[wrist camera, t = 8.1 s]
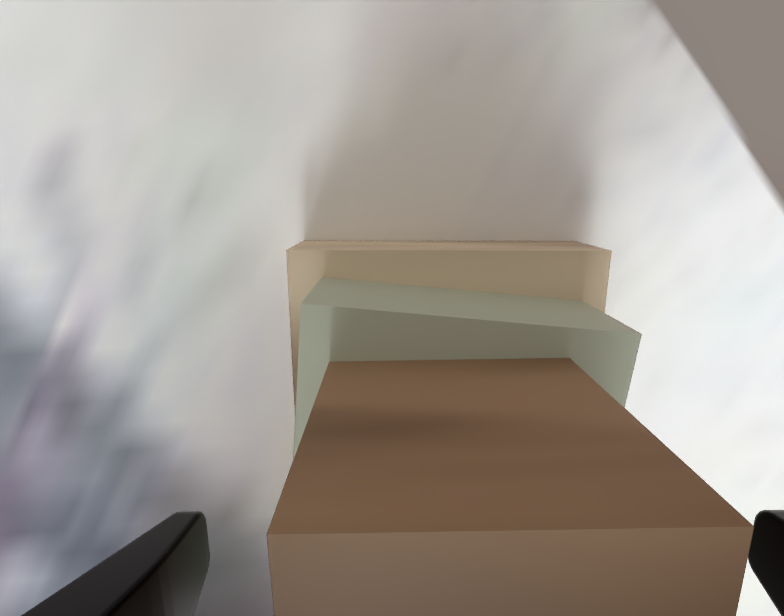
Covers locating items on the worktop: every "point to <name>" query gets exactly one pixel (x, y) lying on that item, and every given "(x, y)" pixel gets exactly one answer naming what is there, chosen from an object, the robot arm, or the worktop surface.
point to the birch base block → (451, 269)
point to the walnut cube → (494, 501)
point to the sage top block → (452, 332)
